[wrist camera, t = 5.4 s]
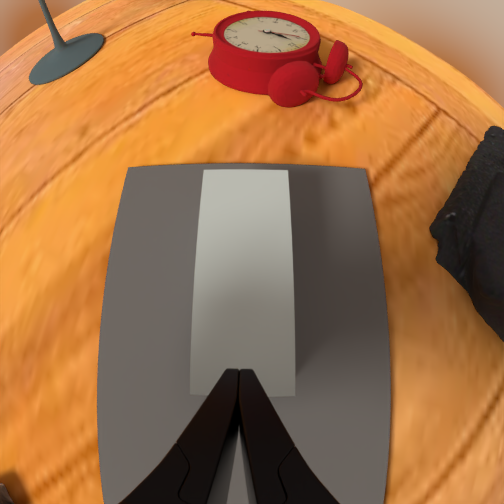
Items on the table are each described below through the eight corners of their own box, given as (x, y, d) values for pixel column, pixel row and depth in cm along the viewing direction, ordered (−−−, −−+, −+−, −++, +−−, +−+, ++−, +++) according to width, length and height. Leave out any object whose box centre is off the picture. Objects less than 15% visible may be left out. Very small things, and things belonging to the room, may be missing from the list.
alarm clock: (255, 2, 24) (388, 25, 18) (263, 49, 30) (383, 86, 23) (173, 33, 22) (314, 57, 15) (191, 86, 27) (317, 137, 20)
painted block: (295, 395, 11) (287, 170, 14) (189, 394, 11) (203, 169, 14) (284, 388, 14) (280, 210, 18) (204, 387, 14) (212, 209, 18)
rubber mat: (374, 532, 11) (377, 536, 11) (112, 527, 11) (108, 531, 11) (362, 173, 20) (365, 169, 19) (130, 172, 20) (128, 167, 19)
